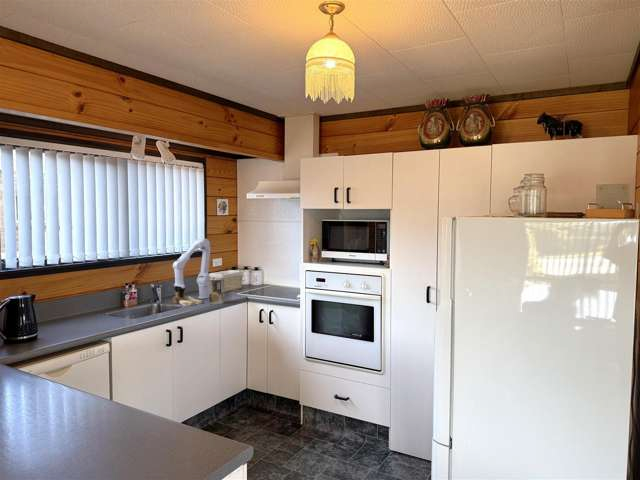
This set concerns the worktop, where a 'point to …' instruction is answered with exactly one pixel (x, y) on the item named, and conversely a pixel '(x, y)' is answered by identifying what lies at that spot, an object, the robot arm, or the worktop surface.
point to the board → (190, 301)
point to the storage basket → (229, 279)
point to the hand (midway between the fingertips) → (180, 297)
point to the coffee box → (216, 291)
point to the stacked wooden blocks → (177, 298)
